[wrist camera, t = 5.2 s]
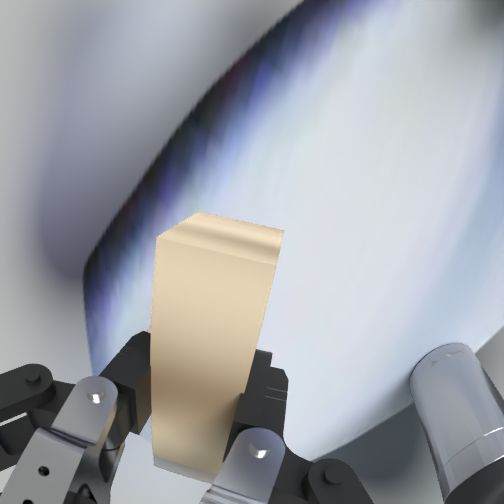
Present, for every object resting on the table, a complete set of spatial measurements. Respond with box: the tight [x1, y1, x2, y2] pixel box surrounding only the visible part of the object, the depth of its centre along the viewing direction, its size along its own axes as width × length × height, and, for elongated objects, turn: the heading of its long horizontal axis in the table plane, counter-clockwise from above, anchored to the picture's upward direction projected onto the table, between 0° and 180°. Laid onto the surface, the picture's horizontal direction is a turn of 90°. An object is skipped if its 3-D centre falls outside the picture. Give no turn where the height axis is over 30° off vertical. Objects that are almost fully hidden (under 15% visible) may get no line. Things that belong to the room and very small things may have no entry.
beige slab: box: [150, 212, 284, 484], centre depth 11 cm, size 15×5×3 cm, turn 169°
